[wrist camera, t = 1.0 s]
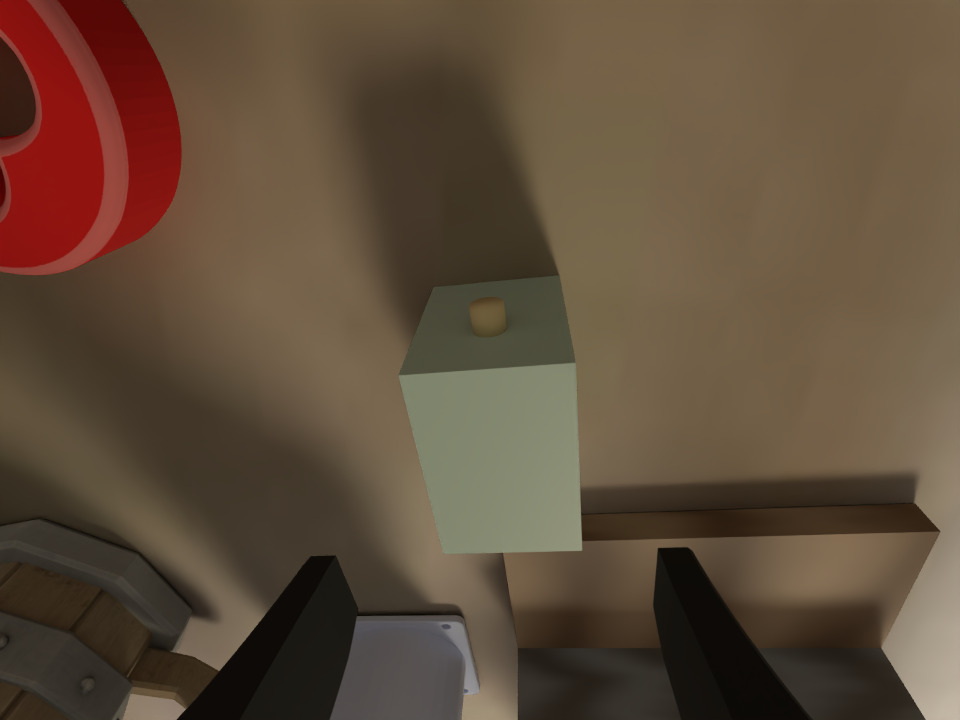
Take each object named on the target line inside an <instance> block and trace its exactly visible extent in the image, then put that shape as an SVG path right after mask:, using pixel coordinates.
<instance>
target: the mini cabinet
mask: <svg viewBox="0 0 960 720" xmlns="http://www.w3.org/2000/svg"><path fill="white" fill-rule="evenodd" d="M398 376H399V380H400V384H401V388H402V392H403V396H404V399H405V403H406V407H407V411H408V415H409V419H410V423H411V427H412V431H413V435H414V439H415V443H416V447H417V451H418V455H419V459H420V463H421V467H422V471H423V475H424V479H425V483H426V487H427V491H428V495H429V499H430V503H431V507H432V511H433V515H434V519H435V523H436V527H437V531H438V535H439V539H440V543H441V547H442V551H443V554H470V553H511V552H552V551H582V531H581V502H580V473H579V444H578V415H577V386H576V362H575V356H574V351H573V346H572V340H571V335H570V330H569V324H568V319H567V314H566V308H565V303H564V298H563V292H562V287H561V282H560V276H559V275H556V276H546V277H535V278H524V279H514V280H503V281H493V282H482V283H472V284H461V285H451V286H440V287H433V290H432V292H431V295H430V297H429V300H428V302H427V305H426V307H425V310H424V312H423V315H422V317H421V320H420V322H419V325H418V327H417V330H416V333H415V335H414V338H413V340H412V343H411V345H410V348H409V350H408V353H407V355H406V358H405V360H404V363H403V365H402V368H401V370H400V373H399V375H398Z"/></svg>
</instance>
